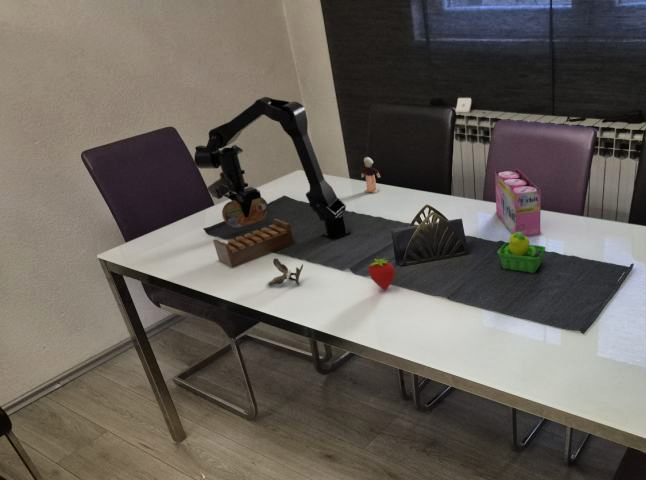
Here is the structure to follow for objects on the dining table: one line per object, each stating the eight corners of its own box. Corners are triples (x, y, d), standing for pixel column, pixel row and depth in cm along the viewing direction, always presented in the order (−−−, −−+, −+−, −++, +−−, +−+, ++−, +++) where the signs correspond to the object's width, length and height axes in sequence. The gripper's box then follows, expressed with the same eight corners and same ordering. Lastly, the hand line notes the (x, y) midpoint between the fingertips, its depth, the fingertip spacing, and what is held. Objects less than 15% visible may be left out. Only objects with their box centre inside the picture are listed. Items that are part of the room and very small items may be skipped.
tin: (228, 230, 190) (222, 205, 186) (224, 228, 192) (217, 202, 188) (270, 218, 199) (266, 193, 195) (266, 216, 201) (261, 191, 197)
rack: (294, 243, 185) (289, 223, 182) (232, 267, 173) (225, 247, 170) (280, 237, 190) (275, 218, 187) (219, 260, 178) (212, 240, 175)
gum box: (494, 211, 197) (492, 170, 190) (517, 207, 198) (516, 167, 191) (515, 238, 177) (515, 193, 170) (541, 234, 178) (541, 190, 171)
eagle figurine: (307, 271, 165) (276, 265, 166) (300, 258, 158) (268, 251, 159) (298, 295, 162) (266, 289, 163) (290, 283, 155) (258, 276, 156)
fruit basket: (546, 263, 162) (547, 224, 155) (535, 278, 155) (536, 237, 149) (506, 258, 166) (506, 219, 160) (495, 272, 159) (493, 232, 153)
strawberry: (386, 298, 151) (381, 262, 146) (366, 291, 155) (360, 255, 150) (402, 289, 155) (398, 253, 149) (382, 282, 159) (377, 247, 153)
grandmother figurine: (361, 193, 221) (355, 159, 215) (364, 190, 225) (359, 155, 218) (381, 193, 220) (376, 158, 213) (384, 189, 223) (379, 155, 216)
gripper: (193, 170, 186) (208, 218, 195) (221, 180, 175) (235, 230, 183) (226, 161, 193) (239, 207, 201) (255, 170, 181) (267, 219, 190)
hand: (244, 216), depth 194 cm, fingers closed on tin, 2 cm apart
